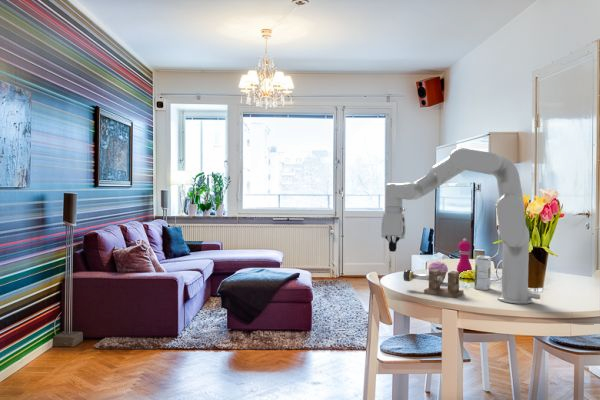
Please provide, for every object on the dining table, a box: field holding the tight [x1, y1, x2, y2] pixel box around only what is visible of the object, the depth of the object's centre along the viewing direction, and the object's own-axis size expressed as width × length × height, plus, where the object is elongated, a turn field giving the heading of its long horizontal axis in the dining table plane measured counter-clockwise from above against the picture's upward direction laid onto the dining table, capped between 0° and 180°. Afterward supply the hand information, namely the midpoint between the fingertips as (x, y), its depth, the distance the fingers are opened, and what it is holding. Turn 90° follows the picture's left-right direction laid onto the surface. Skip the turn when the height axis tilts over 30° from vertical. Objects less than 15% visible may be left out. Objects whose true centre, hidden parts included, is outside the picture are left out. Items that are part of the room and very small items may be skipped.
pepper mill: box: [456, 238, 473, 274], centre depth 238 cm, size 7×7×20 cm
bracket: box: [423, 269, 464, 299], centre depth 200 cm, size 14×9×10 cm, turn 56°
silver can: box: [474, 255, 492, 291], centre depth 211 cm, size 6×6×14 cm
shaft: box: [403, 269, 443, 283], centre depth 205 cm, size 16×5×5 cm, turn 56°
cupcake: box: [427, 261, 449, 284], centre depth 226 cm, size 9×9×10 cm
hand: (392, 251), depth 213 cm, fingers closed
